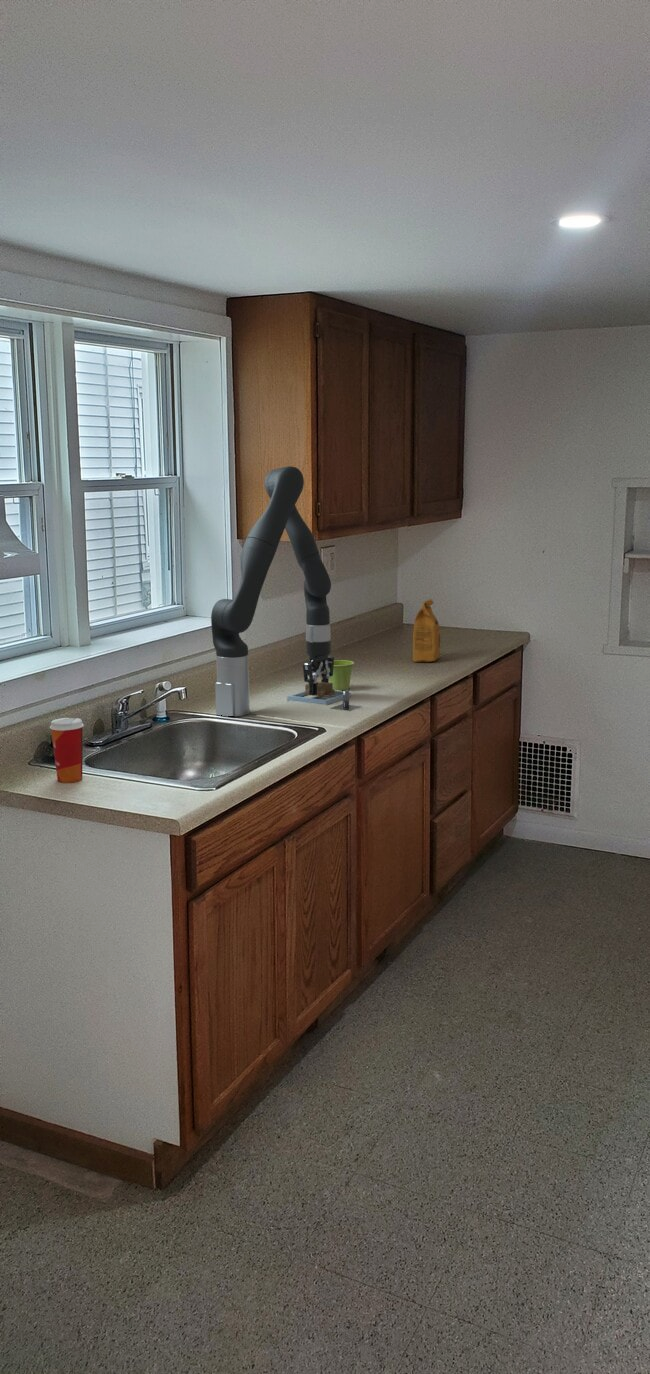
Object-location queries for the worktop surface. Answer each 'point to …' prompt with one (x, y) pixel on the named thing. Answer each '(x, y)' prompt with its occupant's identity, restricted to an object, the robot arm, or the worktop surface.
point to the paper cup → (67, 748)
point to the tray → (299, 698)
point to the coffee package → (426, 635)
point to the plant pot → (341, 674)
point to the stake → (346, 703)
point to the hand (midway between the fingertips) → (319, 693)
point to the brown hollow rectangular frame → (322, 689)
